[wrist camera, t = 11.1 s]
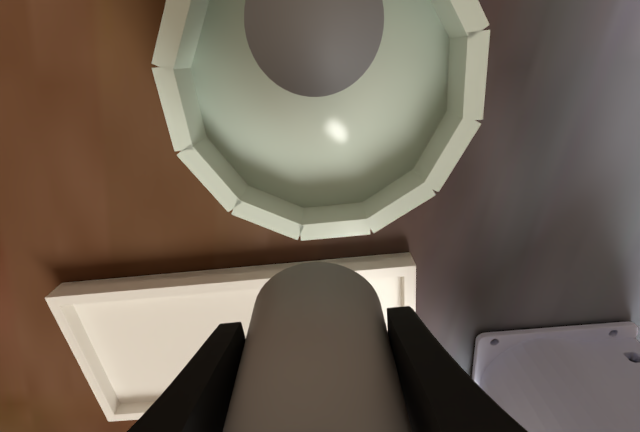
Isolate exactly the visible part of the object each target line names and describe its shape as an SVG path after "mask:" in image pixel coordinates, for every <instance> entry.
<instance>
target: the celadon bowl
mask: <svg viewBox="0 0 640 432" xmlns="http://www.w3.org/2000/svg"><path fill="white" fill-rule="evenodd" d="M382 1H383V7H384V28H383V34H382V39H381V43H380V46H379V49H378V52H377V54H376V56H375V58H374V60H373V62H372V63H371V65H370V66H369V68H368V69H367V70H366V72H365V73H364V74H363V75H362V76H361V77H360V78H359V79H358V80H357V81H356V82H355V83H353V84H352V85H351V86H349V87H348V88H346V89H344V90H342V91H340V92H337V93H335V94H332V95H328V96H322V97H307V96H301V95H297V94H294V93H291V92H289V91H287V90H285V89H283V88H281V87H280V86H278V85H277V84H275V83H274V82H273V81H272V80H271V79H269V77H268V76H267V75H266V74H265V73H264V72H263V71H262V70H261V68H260V67H259V66H258V64H257V62H256V61H255V59H254V57H253V55H252V53H251V50H250V48H249V45H248V42H247V38H246V33H245V27H244V6H245V0H166V3H165V7H164V12H163V16H162V20H161V25H160V29H159V33H158V37H157V42H156V46H155V50H154V55H153V59H152V64H154V65H156V66H159V67H157V68H152V71H153V75H154V79H155V82H156V86H157V89H158V93H159V97H160V100H161V104H162V108H163V111H164V115H165V119H166V122H167V126H168V129H169V133H170V137H171V140H172V144H173V148H174V151H181V152H180V153H179V154H177V156H178V157H179V158H180V159H181V160H182V162H183V163H184V164H185V165H186V166H187V167H188V168H189V169H190V170H191V172H192V173H193V174H194V175H195V176H196V177H197V178H198V179H199V180H200V181H201V183H202V184H203V185H204V186H205V187H206V188H207V189H208V190H209V191H210V193H211V194H212V195H213V196H214V197H215V198H216V199H217V200H218V201H219V202H220V204H221V205H222V206H223V207H224V208H225V209H226V210H227V211H228V212H229V211H231V210H232V209H233V208H234V209H233V212H232V215H234V216H237V217H240V218H242V219H245V220H247V221H250V222H252V223H255V224H257V225H260V226H262V227H265V228H268V229H270V230H273V231H275V232H278V233H280V234H283V235H285V236H288V237H291V238H293V239H296V240H298V238H299V236H301V241H303V240H314V239H325V238H336V237H347V236H358V235H369V234H370V229H371V230H372V231H373V233H375V232H377V231H378V230H380V229H382V228H383V227H385V226H386V225H388V224H390V223H391V222H393V221H394V220H396V219H398V218H399V217H401V216H403V215H404V214H406V213H407V212H409V211H411V210H412V209H414V208H416V207H417V206H419V205H420V204H422V203H424V202H425V201H427V200H429V199H430V198H432V197H433V196H435V195H436V194H435V193H434V191H433V190H435V191H437V192H439V191H440V189H441V188H442V186H443V185H444V183H445V181H446V180H447V178H448V176H449V175H450V173H451V172H452V170H453V168H454V167H455V165H456V164H457V162H458V160H459V159H460V157H461V156H462V154H463V152H464V151H465V149H466V148H467V146H468V144H469V143H470V141H471V140H472V138H473V136H474V135H475V133H476V132H477V130H478V128H479V127H480V125H481V123H479V122H477V121H475V120H483V111H484V99H485V87H486V75H487V63H488V51H489V39H490V30H483V29H484V28H486V27H487V26H488V25H489V23H488V20H487V18H486V16H485V14H484V12H483V10H482V8H481V5H480V3H479V1H478V0H382ZM481 30H483V31H481ZM432 189H433V190H432Z"/></svg>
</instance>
